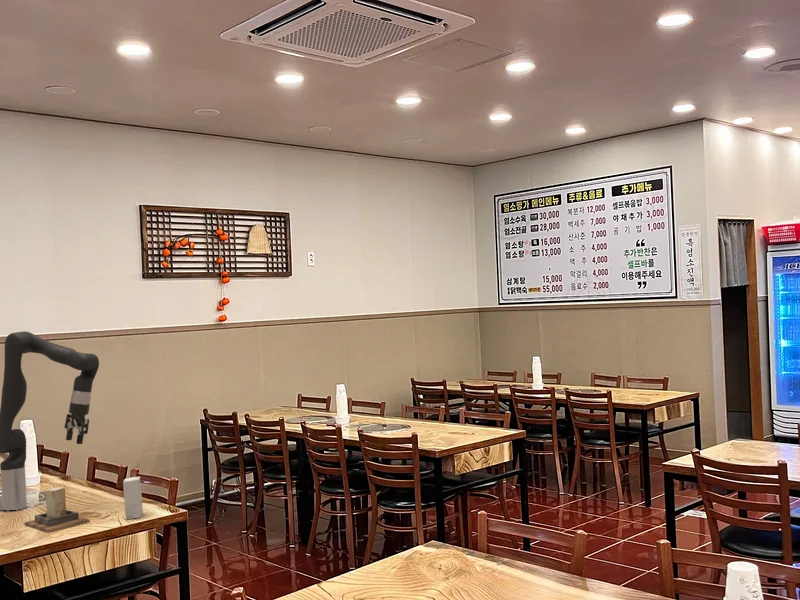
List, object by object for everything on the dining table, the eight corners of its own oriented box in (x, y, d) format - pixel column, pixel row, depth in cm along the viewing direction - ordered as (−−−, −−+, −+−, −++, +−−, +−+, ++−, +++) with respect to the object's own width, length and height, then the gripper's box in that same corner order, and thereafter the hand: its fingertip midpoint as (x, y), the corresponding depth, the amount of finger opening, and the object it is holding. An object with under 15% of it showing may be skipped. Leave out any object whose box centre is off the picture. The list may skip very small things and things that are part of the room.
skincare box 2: (141, 518, 305) (139, 479, 306) (124, 520, 304) (122, 481, 304) (143, 513, 314) (141, 475, 314) (127, 514, 312) (125, 477, 312)
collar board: (24, 525, 304) (23, 515, 304) (64, 515, 317) (64, 506, 317) (48, 532, 291) (47, 522, 291) (89, 522, 303) (89, 512, 303)
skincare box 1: (56, 522, 301) (54, 490, 301) (46, 522, 302) (44, 490, 302) (67, 518, 307) (65, 486, 307) (57, 518, 308) (55, 486, 308)
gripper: (62, 399, 324) (56, 439, 323) (80, 404, 315) (73, 445, 314) (80, 400, 329) (73, 439, 328) (97, 405, 320) (91, 445, 319)
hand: (73, 442), depth 321 cm, fingers open, 8 cm apart
